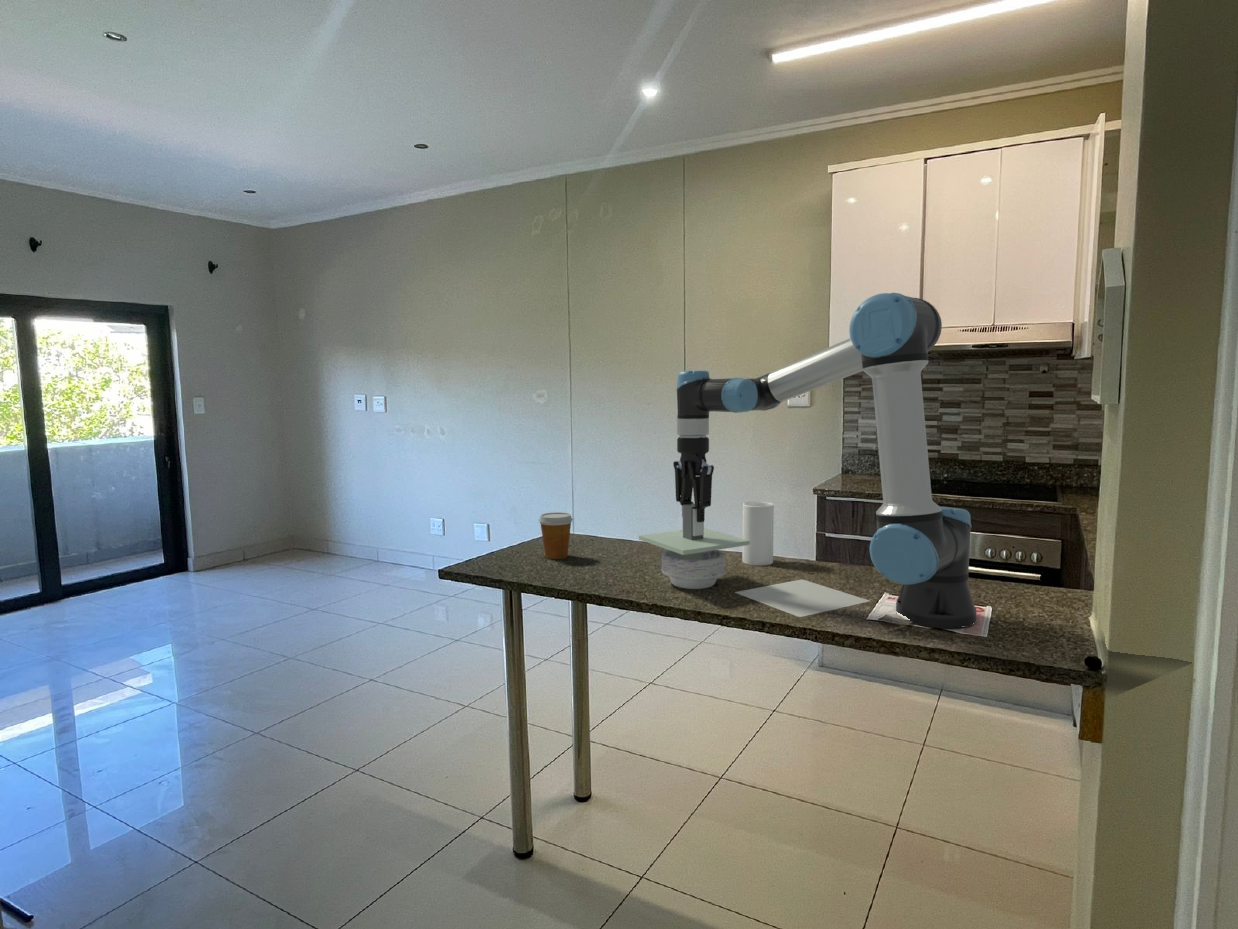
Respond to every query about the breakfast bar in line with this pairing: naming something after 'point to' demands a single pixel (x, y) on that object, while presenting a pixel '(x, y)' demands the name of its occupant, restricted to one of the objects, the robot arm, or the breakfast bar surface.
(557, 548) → the disposable coffee cup
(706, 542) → the cover
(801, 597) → the mat
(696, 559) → the paper bowls
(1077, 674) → the breakfast bar surface
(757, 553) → the cup
